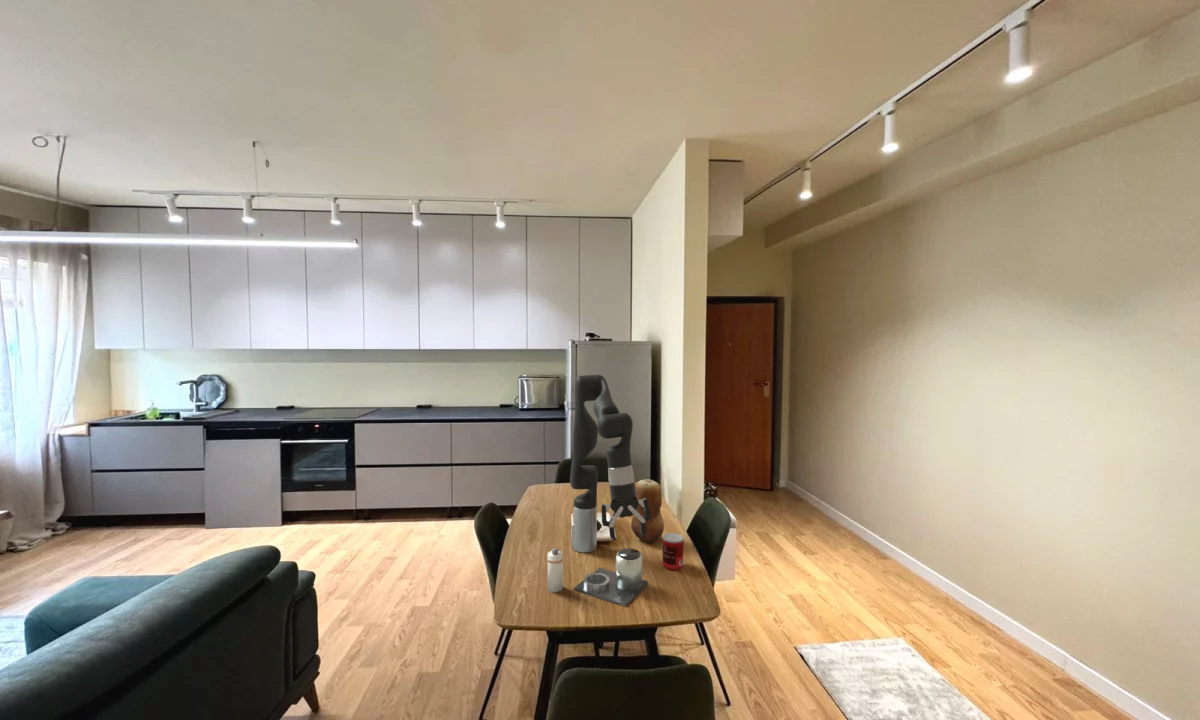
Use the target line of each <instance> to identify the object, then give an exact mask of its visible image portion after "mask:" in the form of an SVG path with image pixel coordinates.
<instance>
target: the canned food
mask: <svg viewBox="0 0 1200 720" xmlns="http://www.w3.org/2000/svg"><path fill="white" fill-rule="evenodd" d="M684 540H685V539H684V536H683V535H681V534H680V533H677V532H668V533H665V534H662V567H663V568H664V569H665V568H666V570H667V569H668V570H667V571H671V570H672V571H673V572H676V570H677V571H680V570H681V568H682V569H683V566H684ZM672 571H671V572H672Z"/></svg>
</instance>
